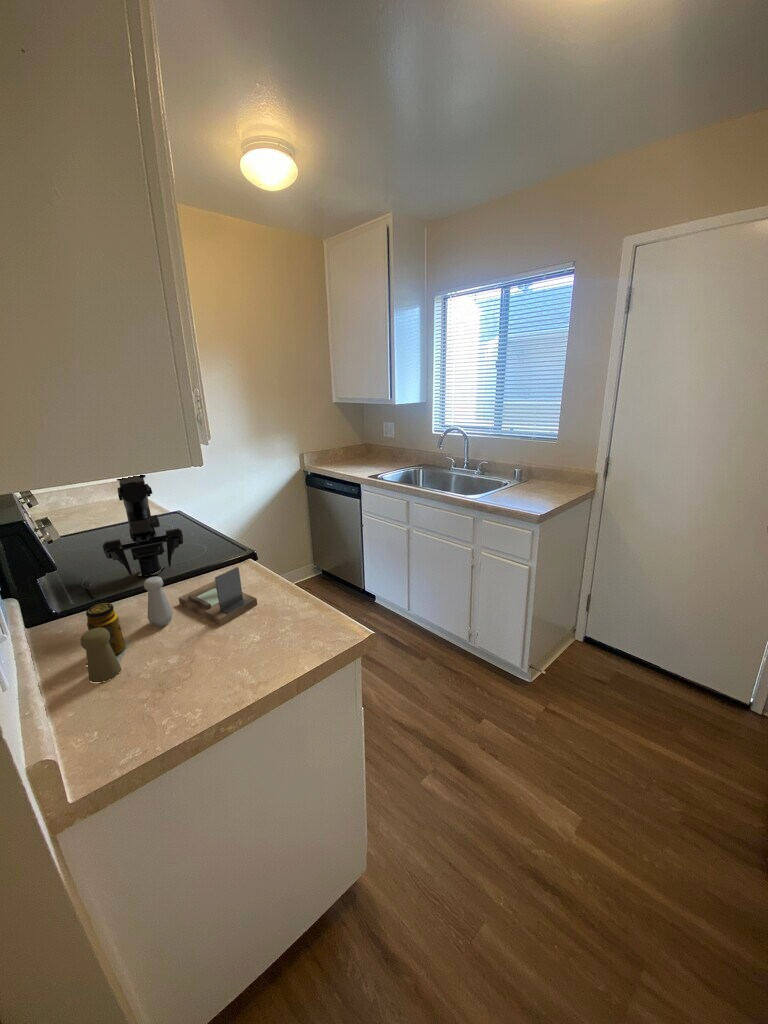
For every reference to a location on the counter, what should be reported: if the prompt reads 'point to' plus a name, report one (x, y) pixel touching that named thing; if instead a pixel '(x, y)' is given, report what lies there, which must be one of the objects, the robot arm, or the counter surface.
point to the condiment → (108, 627)
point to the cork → (99, 655)
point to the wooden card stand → (212, 603)
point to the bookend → (230, 591)
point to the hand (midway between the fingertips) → (150, 571)
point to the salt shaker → (157, 603)
